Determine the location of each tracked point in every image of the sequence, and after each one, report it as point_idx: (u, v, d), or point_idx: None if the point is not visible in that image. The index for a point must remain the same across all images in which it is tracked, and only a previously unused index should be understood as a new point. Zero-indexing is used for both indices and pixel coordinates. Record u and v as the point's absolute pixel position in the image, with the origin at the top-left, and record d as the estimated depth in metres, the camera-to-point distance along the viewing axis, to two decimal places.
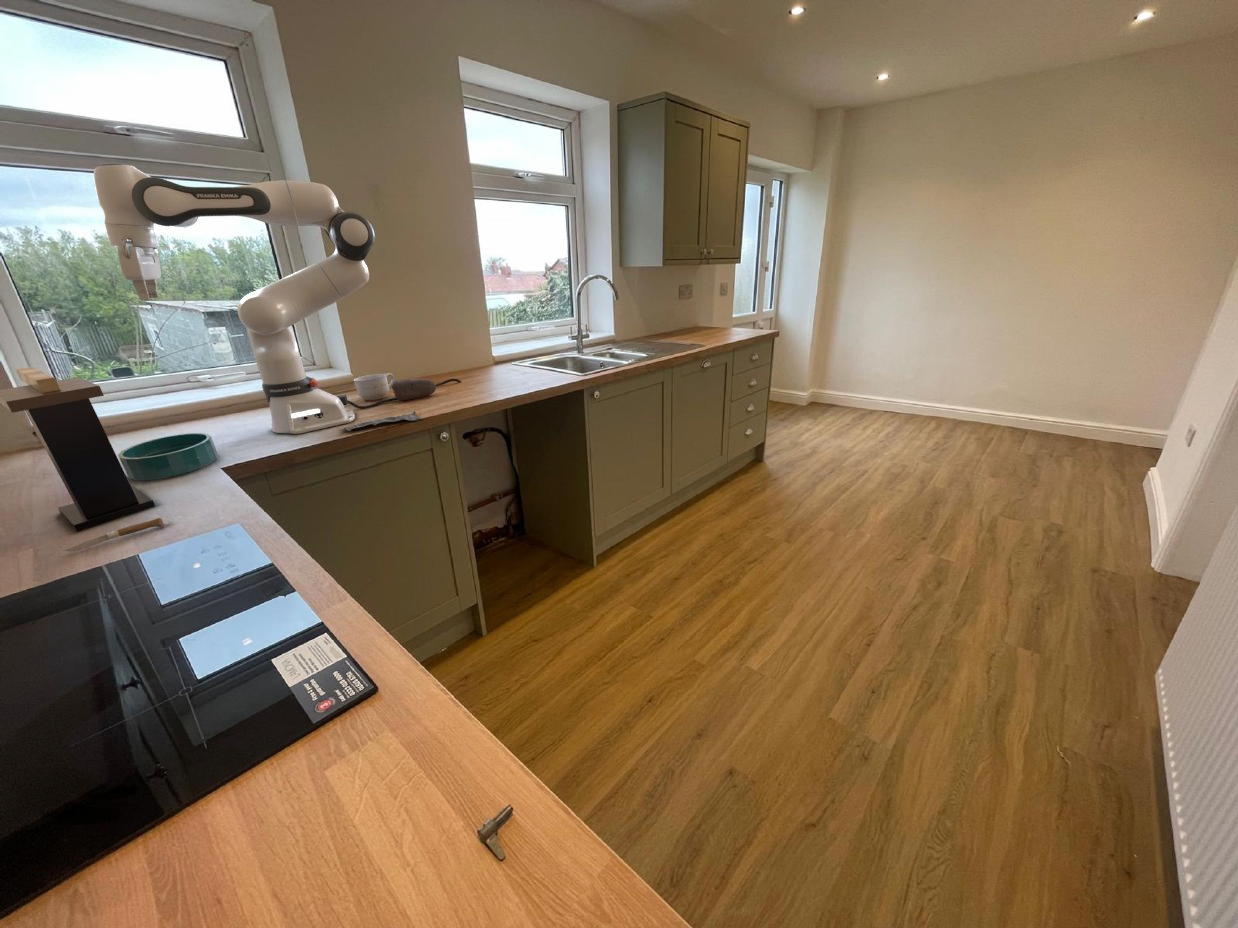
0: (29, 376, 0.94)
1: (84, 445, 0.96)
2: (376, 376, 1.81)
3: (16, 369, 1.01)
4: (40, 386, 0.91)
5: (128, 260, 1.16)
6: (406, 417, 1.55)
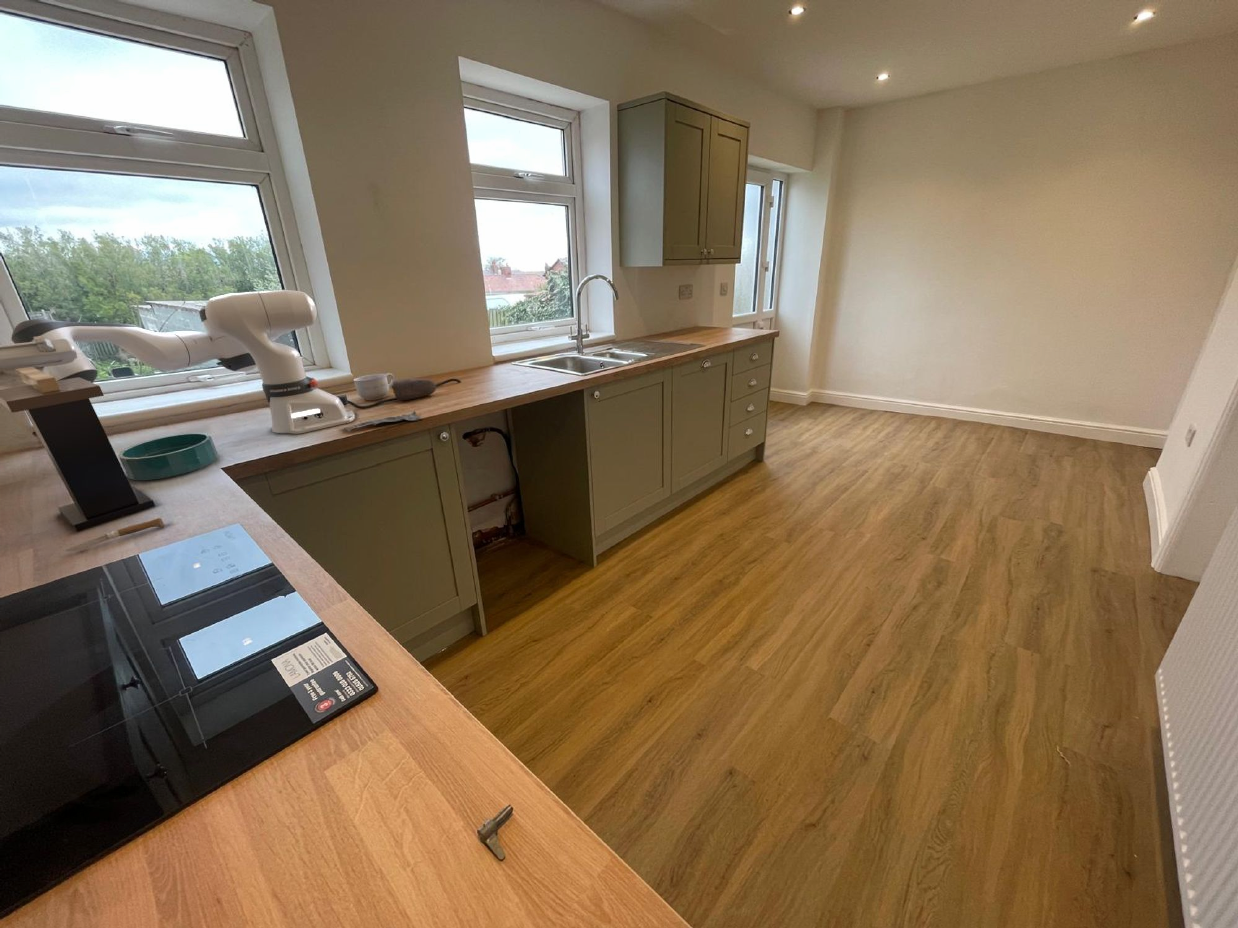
0: (29, 376, 0.94)
1: (84, 445, 0.96)
2: (376, 376, 1.81)
3: (16, 369, 1.01)
4: (40, 386, 0.91)
5: None
6: (406, 417, 1.55)
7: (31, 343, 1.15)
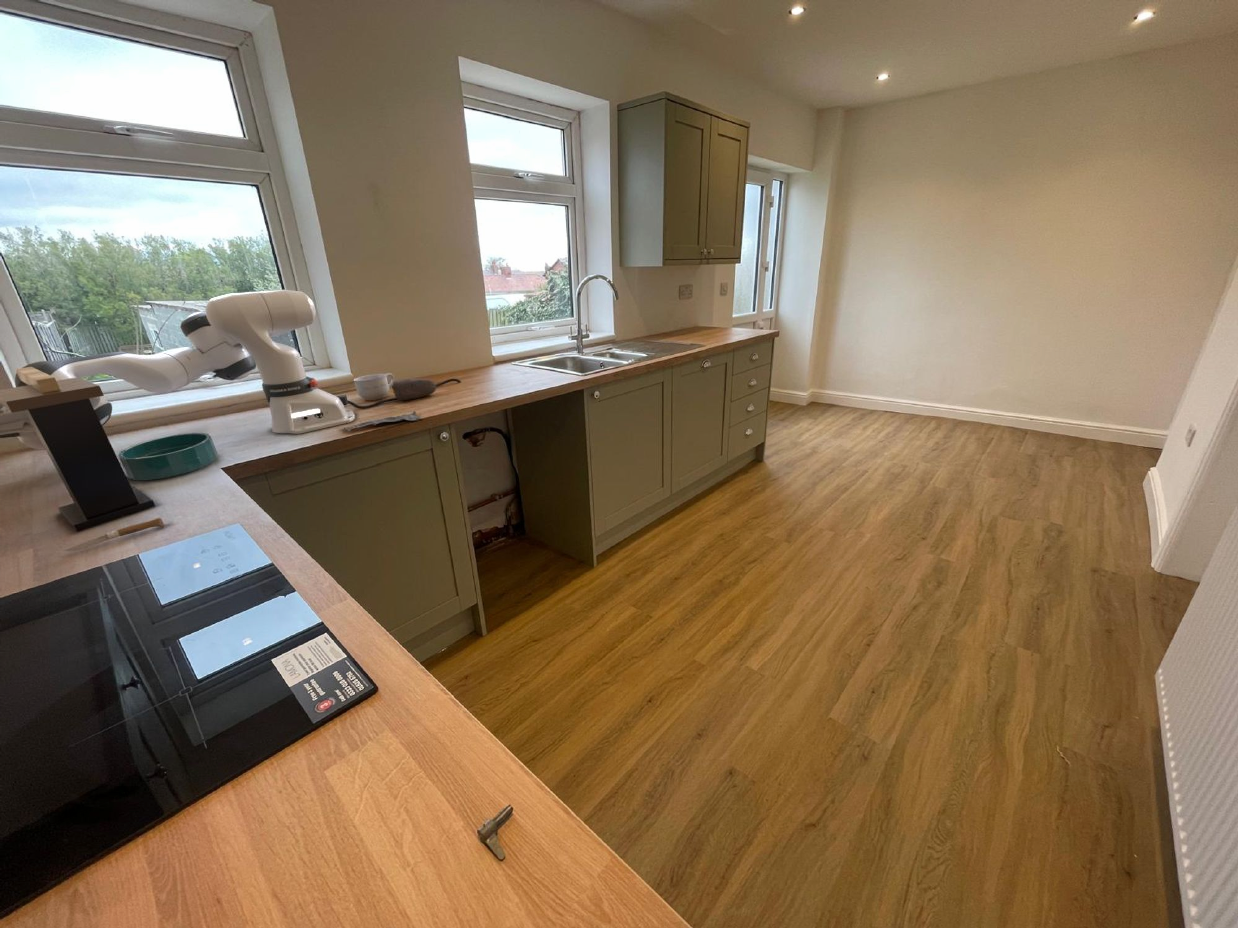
0: (29, 376, 0.94)
1: (84, 445, 0.96)
2: (376, 376, 1.81)
3: (16, 369, 1.01)
4: (40, 386, 0.91)
5: None
6: (406, 417, 1.55)
7: None
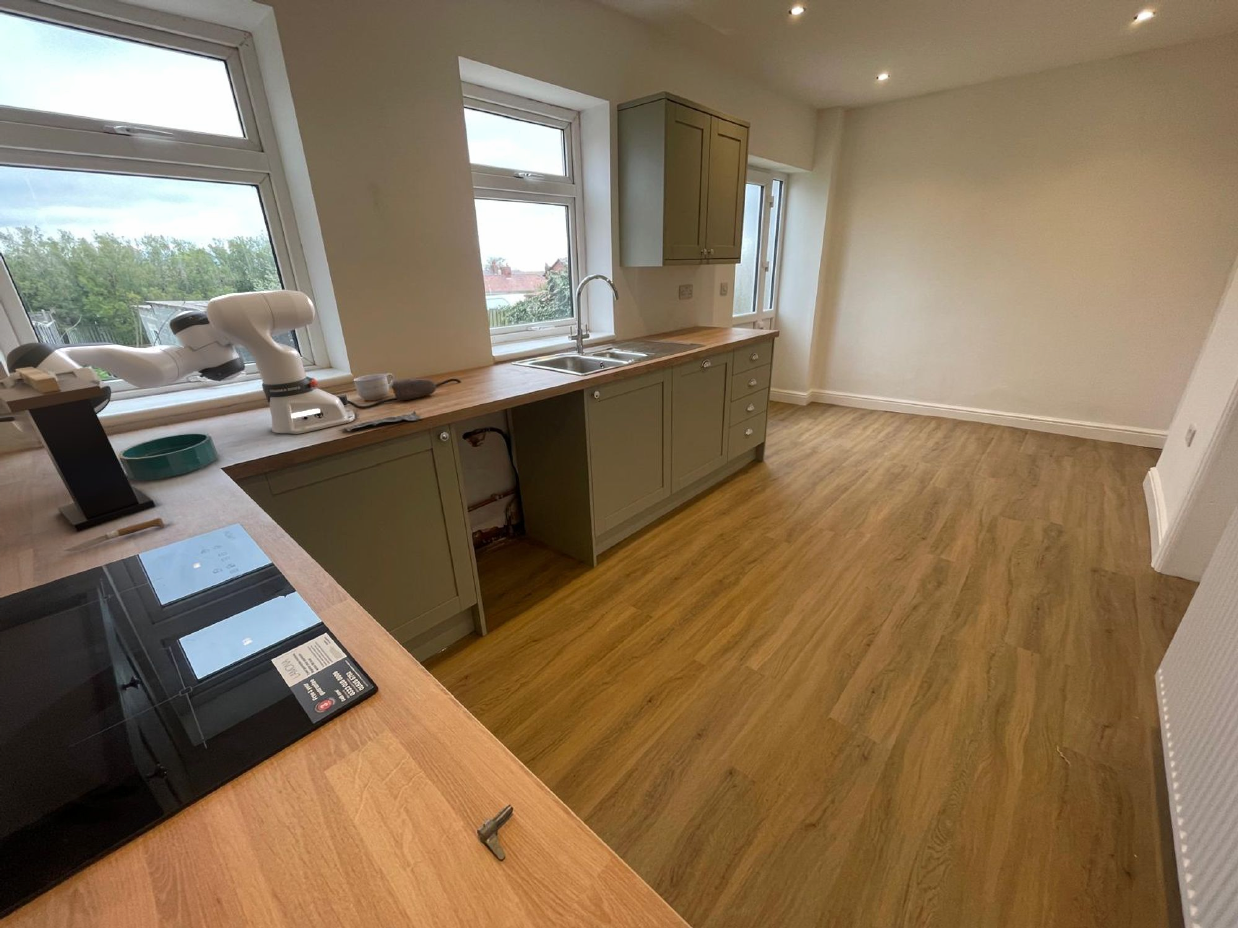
0: (29, 376, 0.94)
1: (84, 445, 0.96)
2: (376, 376, 1.81)
3: (16, 369, 1.02)
4: (40, 386, 0.91)
5: None
6: (406, 417, 1.55)
7: None
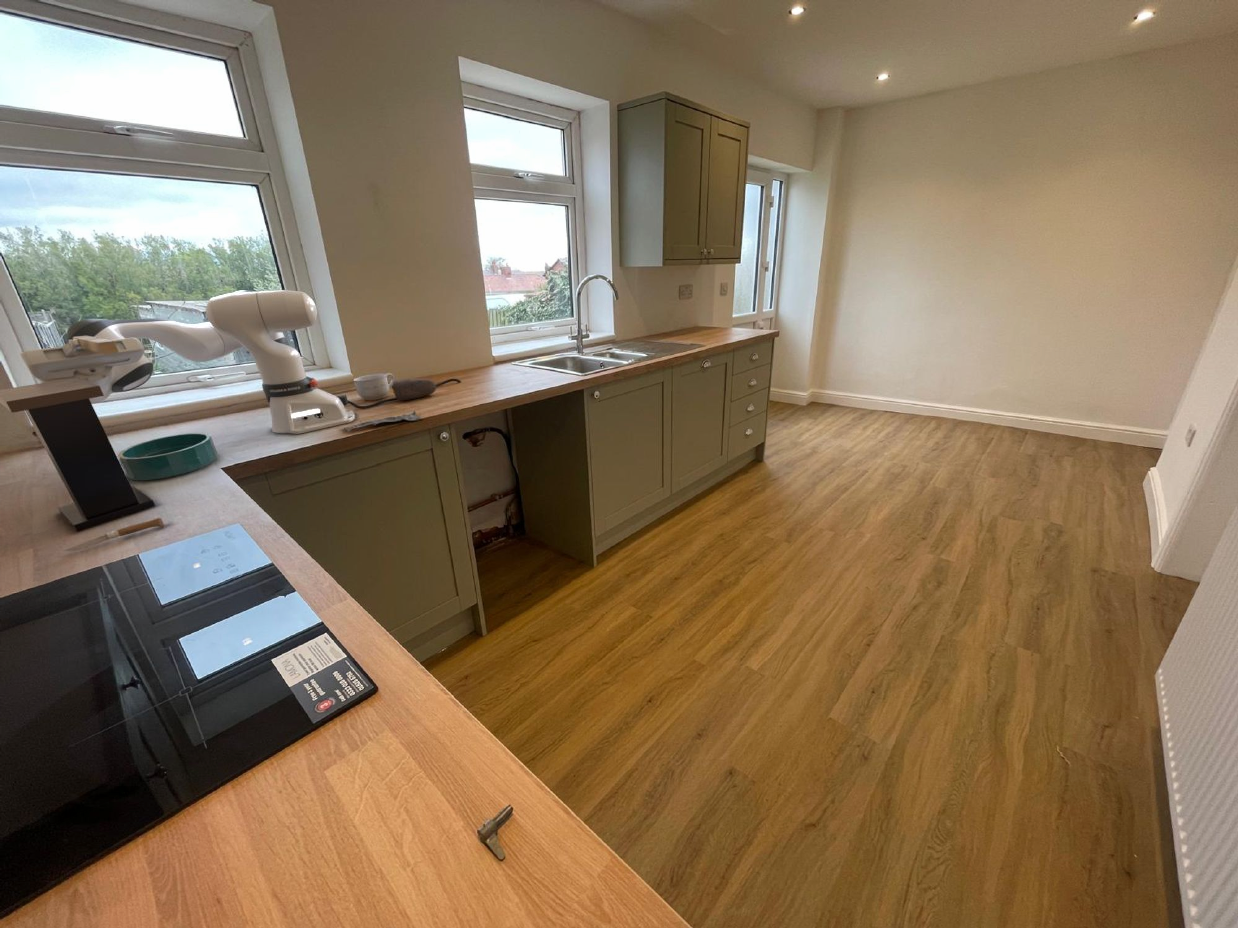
0: (90, 340, 1.06)
1: (84, 445, 0.96)
2: (376, 376, 1.81)
3: (74, 337, 1.14)
4: (102, 348, 1.03)
5: None
6: (406, 417, 1.55)
7: None
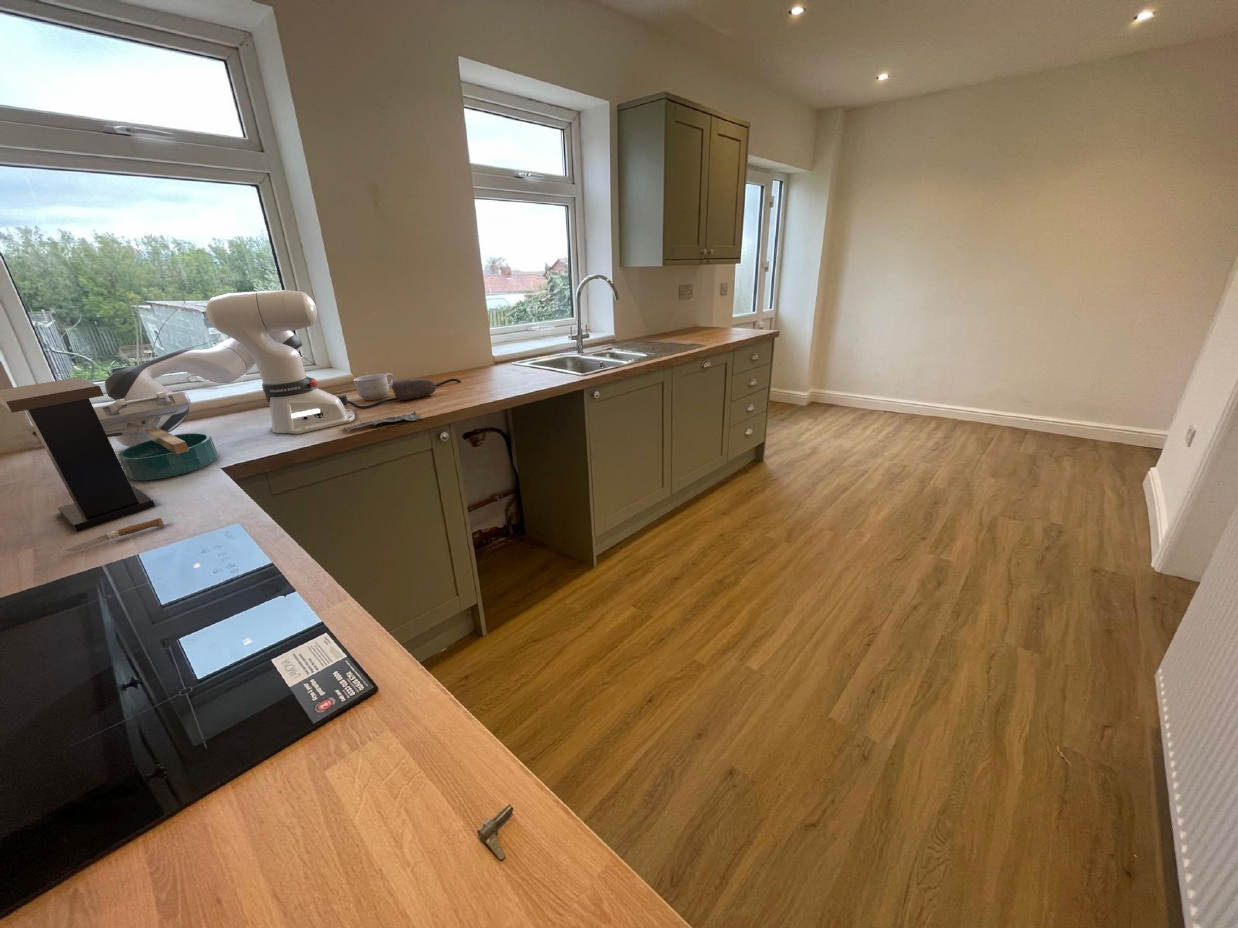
0: (163, 439, 1.20)
1: (84, 445, 0.96)
2: (376, 376, 1.81)
3: (146, 430, 1.27)
4: (175, 449, 1.16)
5: None
6: (406, 417, 1.55)
7: (155, 397, 1.28)
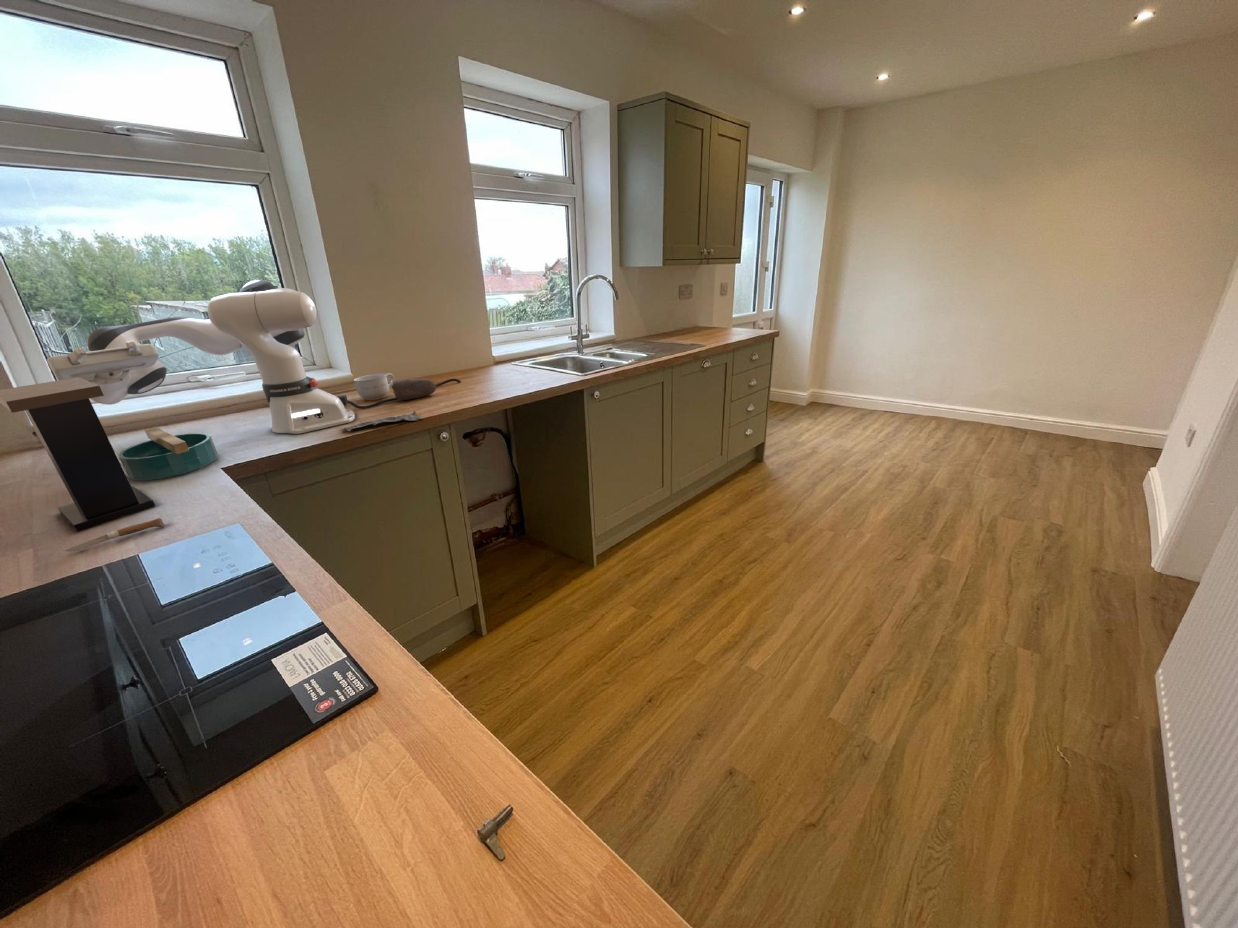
0: (163, 439, 1.20)
1: (84, 445, 0.96)
2: (376, 376, 1.81)
3: (146, 430, 1.27)
4: (175, 449, 1.16)
5: None
6: (406, 417, 1.55)
7: (122, 348, 1.29)
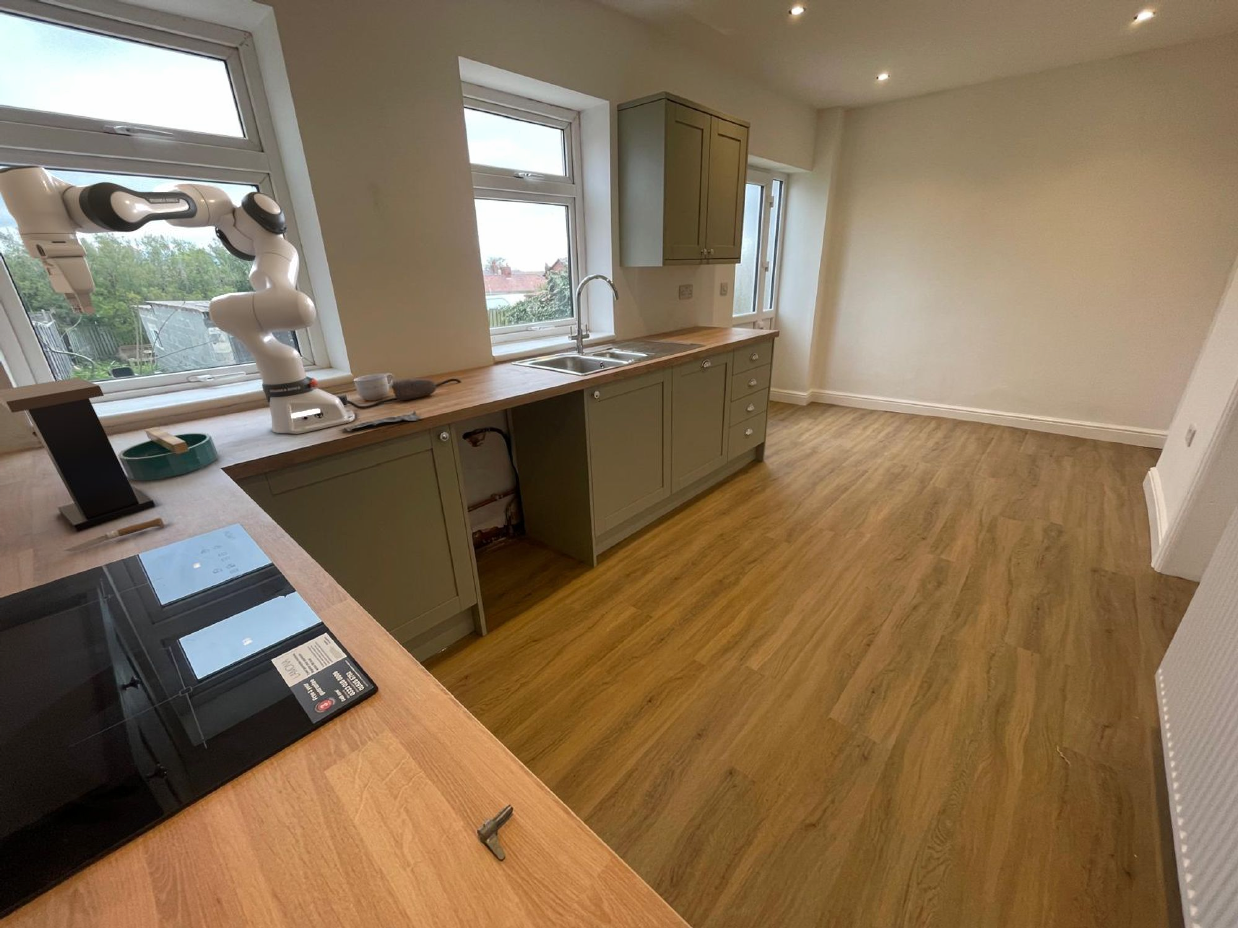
0: (163, 439, 1.20)
1: (84, 445, 0.96)
2: (376, 376, 1.81)
3: (146, 430, 1.27)
4: (175, 449, 1.16)
5: None
6: (406, 417, 1.55)
7: None
